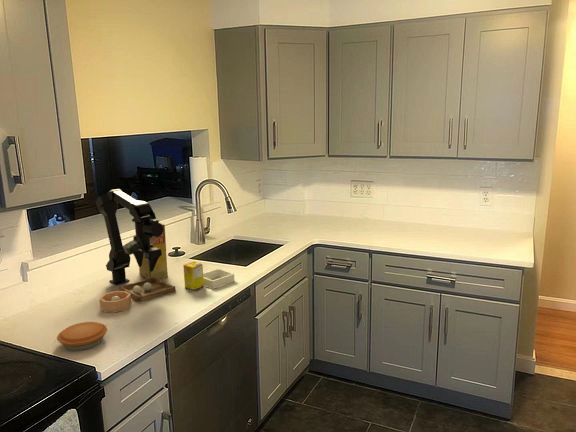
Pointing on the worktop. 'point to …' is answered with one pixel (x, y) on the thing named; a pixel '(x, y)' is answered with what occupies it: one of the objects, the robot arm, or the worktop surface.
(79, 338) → the pie
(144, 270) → the food packaging
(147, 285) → the pebble
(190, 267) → the supplement box
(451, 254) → the worktop surface
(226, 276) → the cream holder
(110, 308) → the bowl
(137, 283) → the tray
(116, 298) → the pebble
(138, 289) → the pebble
